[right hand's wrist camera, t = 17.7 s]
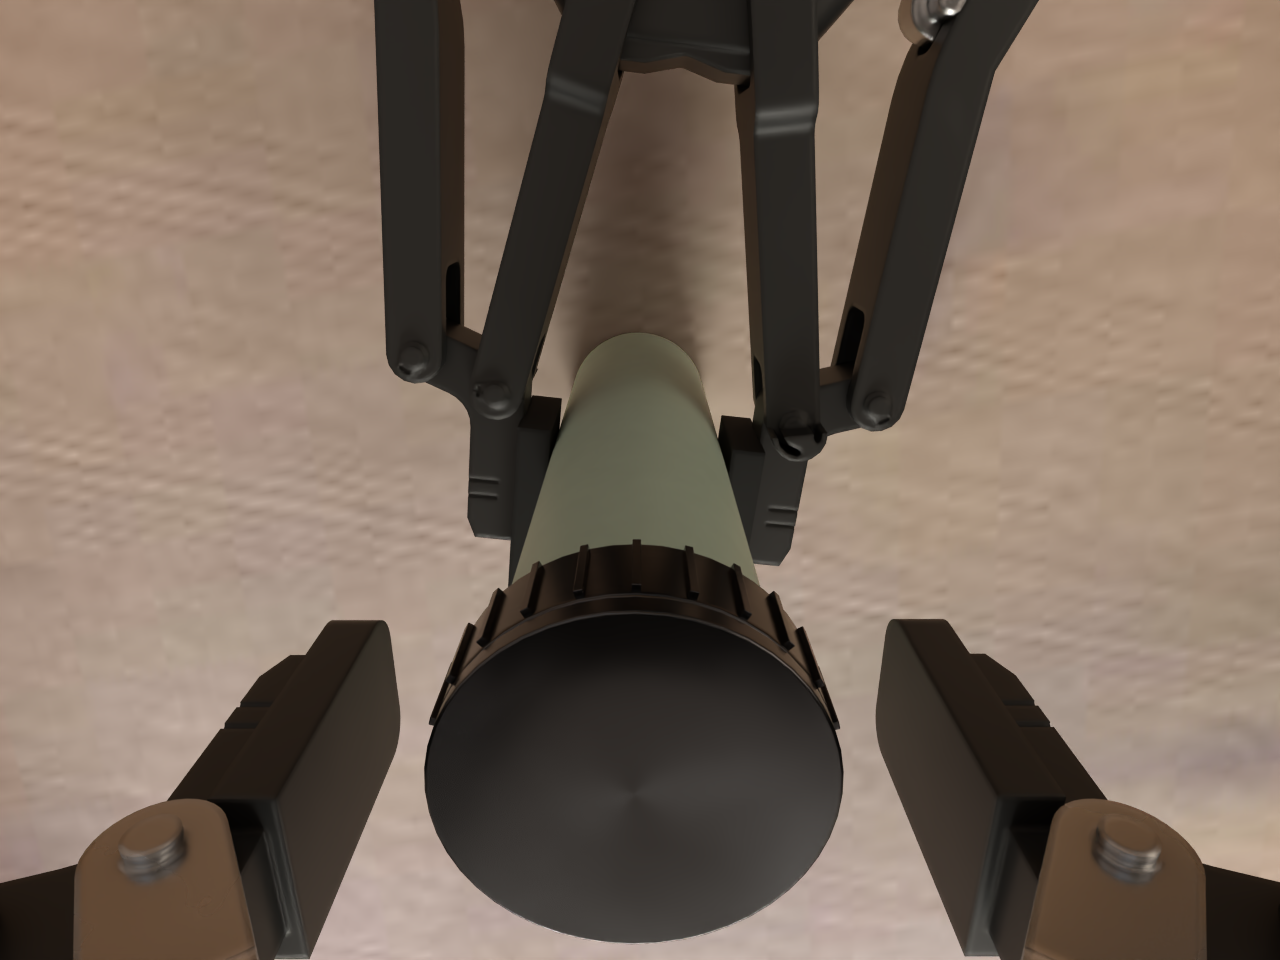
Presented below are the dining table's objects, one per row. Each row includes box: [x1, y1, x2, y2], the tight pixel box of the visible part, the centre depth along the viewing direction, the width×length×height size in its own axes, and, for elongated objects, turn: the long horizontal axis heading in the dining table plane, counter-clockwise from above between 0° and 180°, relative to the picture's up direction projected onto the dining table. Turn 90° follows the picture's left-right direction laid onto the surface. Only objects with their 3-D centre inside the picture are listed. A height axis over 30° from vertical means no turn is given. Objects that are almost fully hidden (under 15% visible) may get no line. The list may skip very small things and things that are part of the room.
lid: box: [424, 539, 844, 944], centre depth 10 cm, size 5×5×2 cm
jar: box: [512, 332, 760, 586], centre depth 18 cm, size 4×4×17 cm
